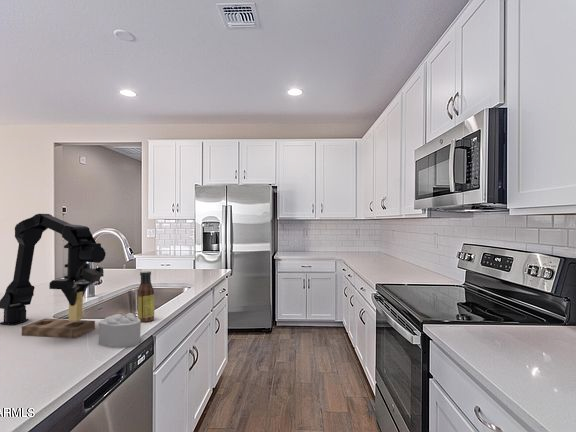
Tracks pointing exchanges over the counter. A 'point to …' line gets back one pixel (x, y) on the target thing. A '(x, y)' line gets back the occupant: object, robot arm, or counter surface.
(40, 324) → the mount board
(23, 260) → the robot arm
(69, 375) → the counter surface
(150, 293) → the sauce bottle
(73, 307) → the pin
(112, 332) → the lumpy-topped squat cylinder
